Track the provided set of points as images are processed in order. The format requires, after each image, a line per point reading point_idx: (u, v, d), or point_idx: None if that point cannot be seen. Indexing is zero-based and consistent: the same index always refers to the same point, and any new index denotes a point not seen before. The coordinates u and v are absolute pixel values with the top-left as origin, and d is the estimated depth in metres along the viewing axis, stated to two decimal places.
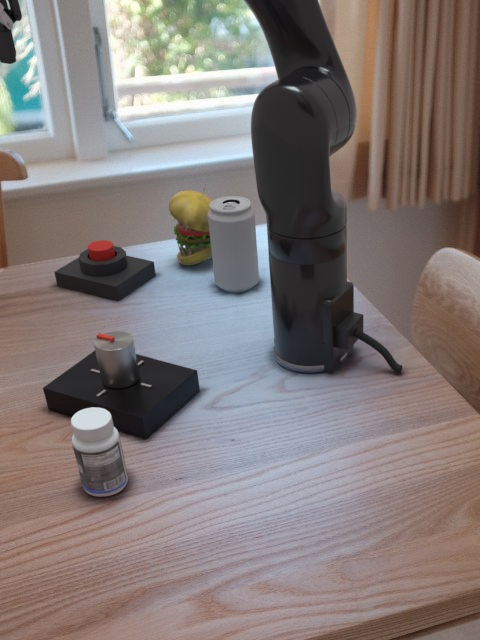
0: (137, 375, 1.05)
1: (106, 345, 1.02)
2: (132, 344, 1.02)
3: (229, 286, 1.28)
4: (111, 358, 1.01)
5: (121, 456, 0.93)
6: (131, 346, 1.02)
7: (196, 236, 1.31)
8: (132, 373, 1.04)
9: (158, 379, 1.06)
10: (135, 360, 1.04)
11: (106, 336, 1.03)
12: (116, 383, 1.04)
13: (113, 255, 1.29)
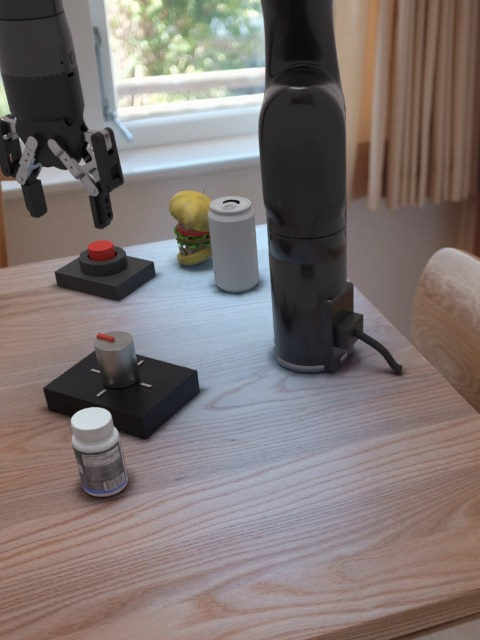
0: (137, 375, 1.05)
1: (106, 345, 1.02)
2: (132, 344, 1.02)
3: (229, 286, 1.28)
4: (111, 358, 1.01)
5: (121, 456, 0.93)
6: (131, 346, 1.02)
7: (196, 236, 1.31)
8: (132, 373, 1.04)
9: (158, 379, 1.06)
10: (135, 360, 1.04)
11: (106, 336, 1.03)
12: (116, 383, 1.04)
13: (113, 255, 1.29)
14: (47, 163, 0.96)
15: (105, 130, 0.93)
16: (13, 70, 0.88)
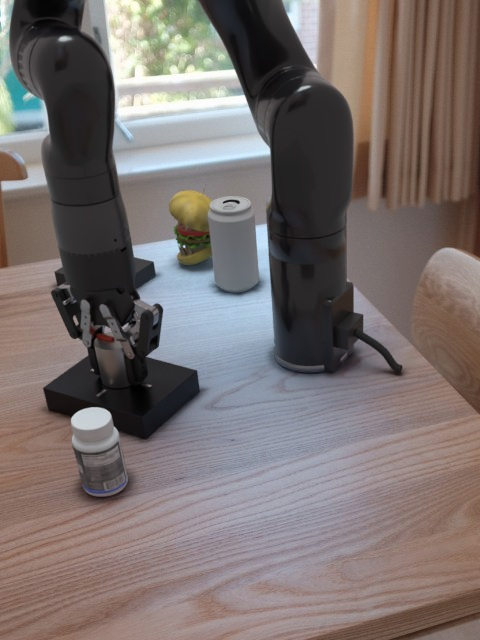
0: None
1: (106, 345, 1.02)
2: None
3: (229, 286, 1.28)
4: (111, 358, 1.01)
5: (121, 456, 0.93)
6: None
7: (196, 236, 1.31)
8: None
9: (158, 379, 1.06)
10: None
11: (106, 336, 1.03)
12: (116, 383, 1.04)
13: None
14: (98, 322, 1.00)
15: (156, 309, 0.97)
16: (69, 247, 0.92)
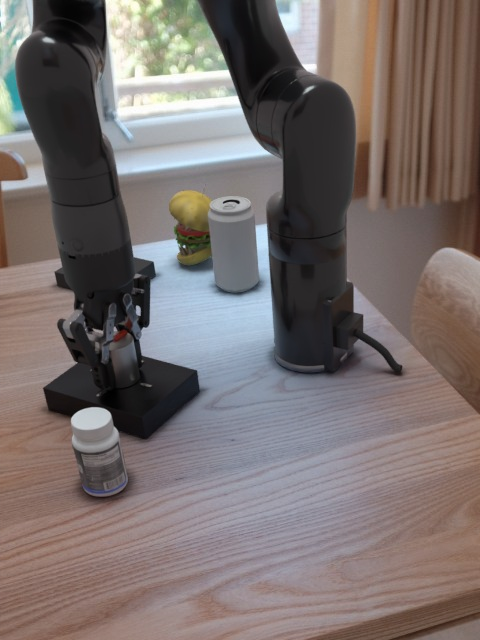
0: None
1: None
2: None
3: (229, 286, 1.28)
4: None
5: (121, 456, 0.93)
6: None
7: (196, 236, 1.31)
8: None
9: (158, 379, 1.06)
10: None
11: (117, 334, 1.03)
12: None
13: None
14: None
15: (68, 325, 0.95)
16: None
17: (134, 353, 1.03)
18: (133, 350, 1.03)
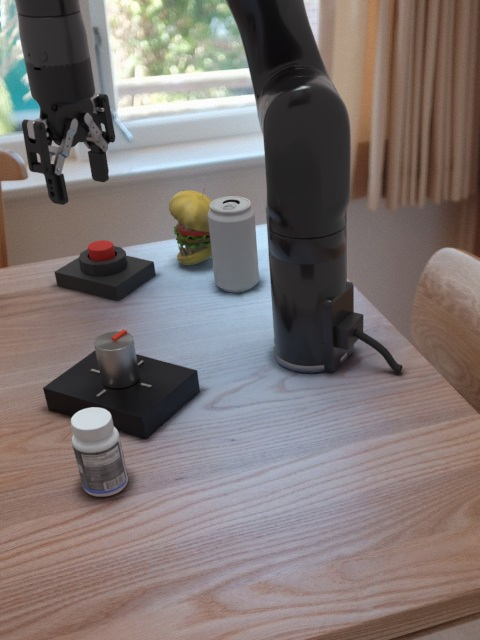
0: (112, 383, 1.04)
1: (104, 337, 1.03)
2: (106, 352, 1.01)
3: (229, 286, 1.28)
4: None
5: (121, 456, 0.93)
6: (105, 353, 1.01)
7: (196, 236, 1.31)
8: (104, 376, 1.03)
9: (158, 379, 1.06)
10: (110, 369, 1.02)
11: (117, 334, 1.03)
12: None
13: (113, 255, 1.29)
14: None
15: (33, 122, 1.05)
16: None
17: (134, 353, 1.03)
18: (133, 350, 1.03)
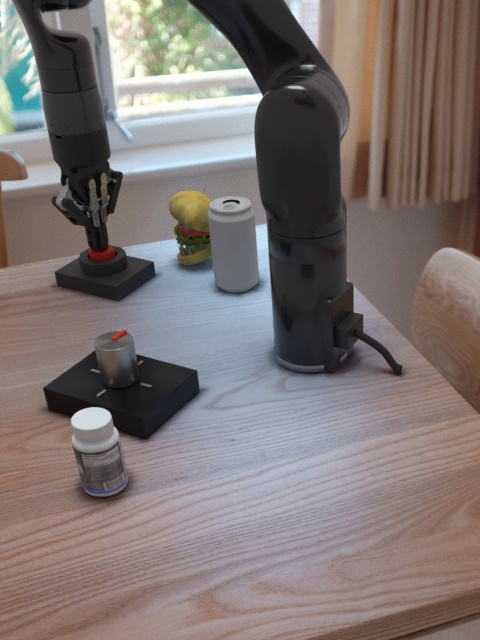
0: (112, 383, 1.04)
1: (104, 337, 1.03)
2: (106, 352, 1.01)
3: (229, 286, 1.28)
4: None
5: (121, 456, 0.93)
6: (105, 353, 1.01)
7: (196, 236, 1.31)
8: (104, 376, 1.03)
9: (158, 379, 1.06)
10: (110, 369, 1.02)
11: (117, 334, 1.03)
12: None
13: None
14: None
15: (60, 202, 1.19)
16: None
17: (134, 353, 1.03)
18: (133, 350, 1.03)
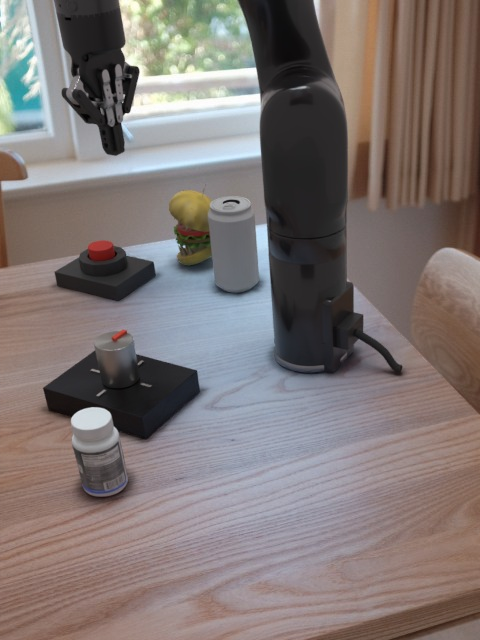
0: (112, 383, 1.04)
1: (104, 337, 1.03)
2: (106, 352, 1.01)
3: (229, 286, 1.28)
4: None
5: (121, 456, 0.93)
6: (105, 353, 1.01)
7: (196, 236, 1.31)
8: (104, 376, 1.03)
9: (158, 379, 1.06)
10: (110, 369, 1.02)
11: (117, 334, 1.03)
12: None
13: (113, 255, 1.29)
14: None
15: (71, 93, 1.09)
16: None
17: (134, 353, 1.03)
18: (133, 350, 1.03)
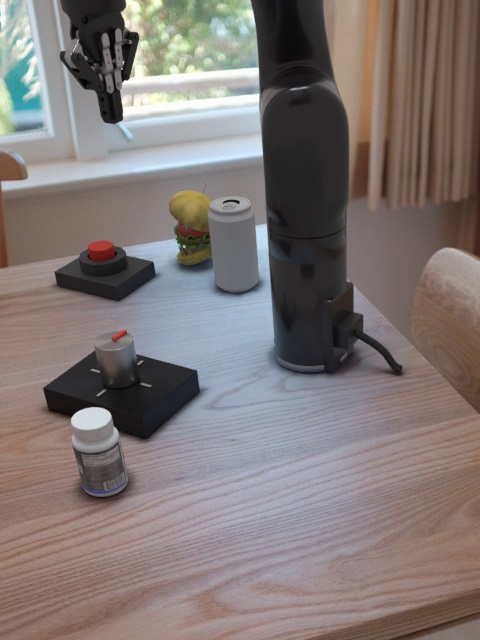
0: (112, 383, 1.04)
1: (104, 337, 1.03)
2: (106, 352, 1.01)
3: (229, 286, 1.28)
4: None
5: (121, 456, 0.93)
6: (105, 353, 1.01)
7: (196, 236, 1.31)
8: (104, 376, 1.03)
9: (158, 379, 1.06)
10: (110, 369, 1.02)
11: (117, 334, 1.03)
12: None
13: (113, 255, 1.29)
14: None
15: (69, 56, 1.06)
16: None
17: (134, 353, 1.03)
18: (133, 350, 1.03)
